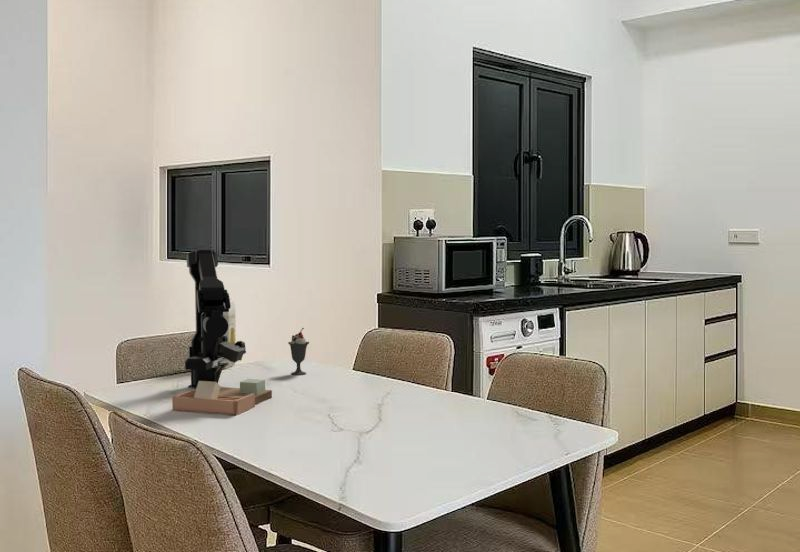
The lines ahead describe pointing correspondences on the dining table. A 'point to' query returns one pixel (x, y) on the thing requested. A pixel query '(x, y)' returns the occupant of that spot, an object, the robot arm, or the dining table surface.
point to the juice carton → (230, 328)
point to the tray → (212, 404)
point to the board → (243, 394)
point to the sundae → (298, 351)
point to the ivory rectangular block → (207, 390)
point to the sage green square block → (252, 386)
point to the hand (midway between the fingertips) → (213, 390)
